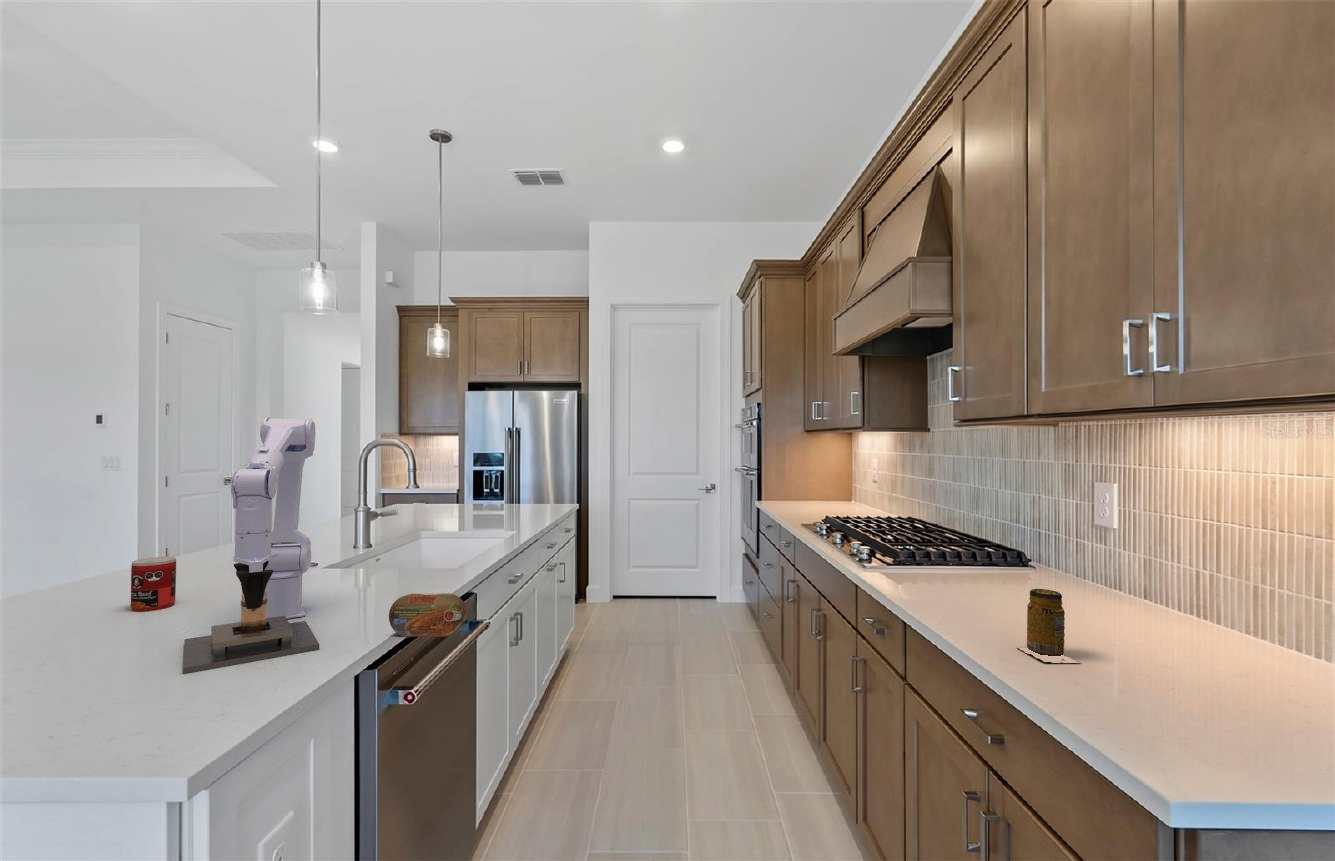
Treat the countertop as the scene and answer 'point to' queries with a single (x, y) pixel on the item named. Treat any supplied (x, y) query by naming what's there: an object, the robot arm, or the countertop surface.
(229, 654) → the grey slotted base plate
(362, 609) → the countertop surface
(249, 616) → the tan rectangular block
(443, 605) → the tin
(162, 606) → the canned food
